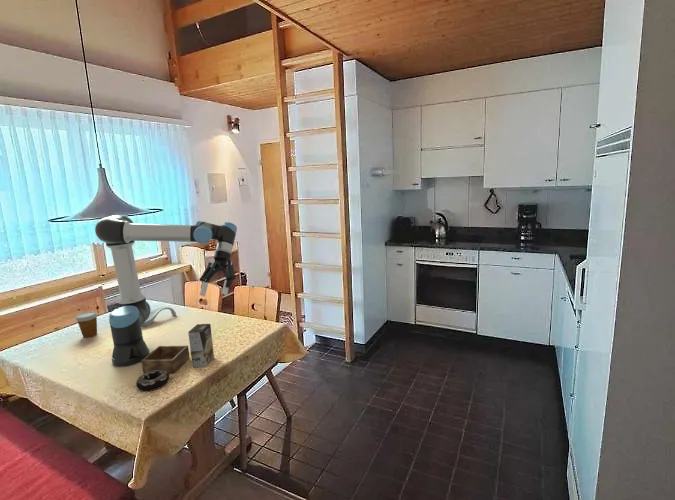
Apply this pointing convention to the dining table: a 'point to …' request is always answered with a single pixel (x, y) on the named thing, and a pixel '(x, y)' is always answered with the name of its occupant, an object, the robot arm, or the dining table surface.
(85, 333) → the disposable coffee cup
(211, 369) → the dining table surface
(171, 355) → the open wooden box
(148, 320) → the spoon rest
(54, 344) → the dining table surface
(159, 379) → the donut
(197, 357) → the coffee box
